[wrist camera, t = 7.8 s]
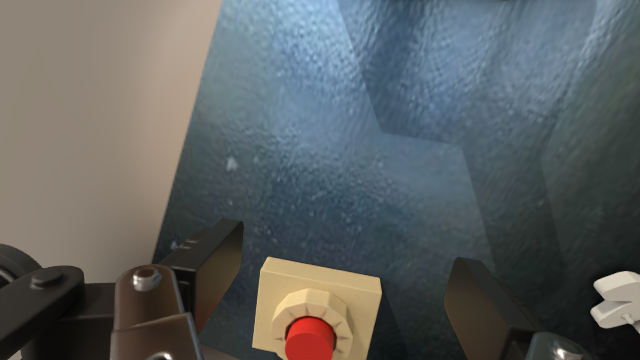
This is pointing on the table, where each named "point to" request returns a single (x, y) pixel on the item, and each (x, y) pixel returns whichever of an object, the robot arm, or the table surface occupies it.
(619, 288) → the game controller
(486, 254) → the table surface
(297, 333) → the red button
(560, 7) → the table surface
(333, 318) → the button box
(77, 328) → the robot arm
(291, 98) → the table surface
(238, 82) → the table surface
